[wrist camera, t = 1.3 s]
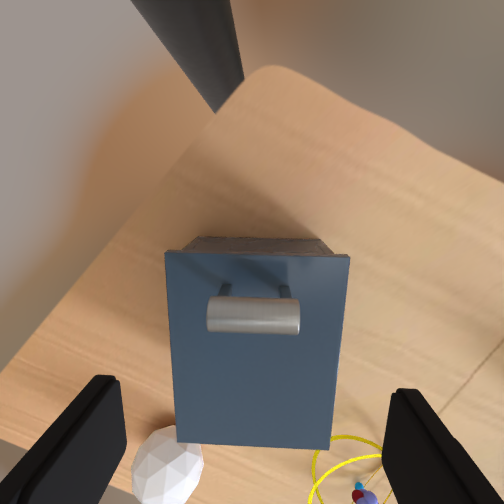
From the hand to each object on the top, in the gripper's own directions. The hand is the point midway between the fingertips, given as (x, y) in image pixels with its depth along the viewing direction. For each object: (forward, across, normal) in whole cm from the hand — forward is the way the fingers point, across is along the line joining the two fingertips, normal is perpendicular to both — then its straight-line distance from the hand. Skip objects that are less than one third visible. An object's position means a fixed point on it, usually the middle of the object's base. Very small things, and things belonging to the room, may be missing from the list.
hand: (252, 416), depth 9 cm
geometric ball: (+20, +10, +24) cm, 33 cm away
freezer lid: (+11, 0, +5) cm, 12 cm away
